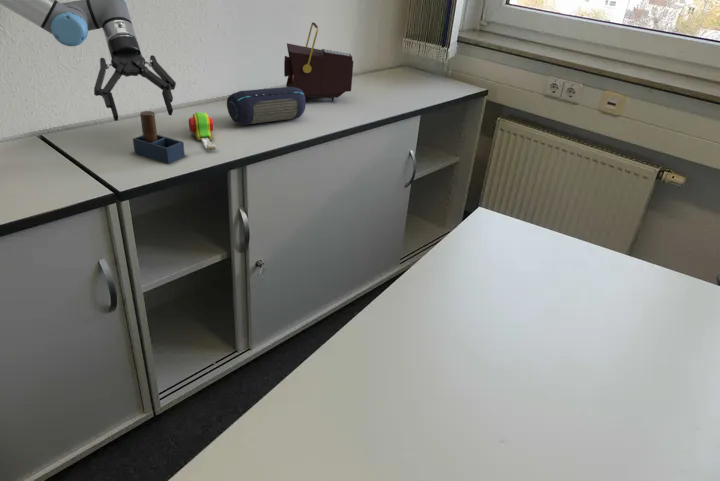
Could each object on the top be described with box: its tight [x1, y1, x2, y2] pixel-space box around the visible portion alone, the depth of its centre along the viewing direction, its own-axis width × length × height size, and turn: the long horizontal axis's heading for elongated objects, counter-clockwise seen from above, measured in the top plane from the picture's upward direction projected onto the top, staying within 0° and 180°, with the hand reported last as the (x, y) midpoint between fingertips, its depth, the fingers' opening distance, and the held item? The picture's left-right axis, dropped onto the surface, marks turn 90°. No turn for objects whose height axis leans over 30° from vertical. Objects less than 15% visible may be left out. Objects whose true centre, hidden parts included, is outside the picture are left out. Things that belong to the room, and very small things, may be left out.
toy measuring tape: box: [188, 111, 217, 151], centre depth 152 cm, size 6×19×7 cm, turn 25°
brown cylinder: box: [139, 110, 158, 143], centre depth 140 cm, size 3×3×10 cm
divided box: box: [132, 134, 185, 165], centre depth 141 cm, size 6×11×4 cm, turn 64°
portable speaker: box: [226, 86, 307, 125], centre depth 168 cm, size 25×10×10 cm, turn 126°
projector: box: [283, 21, 354, 102], centre depth 189 cm, size 16×23×25 cm
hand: (144, 115), depth 140 cm, fingers open, 13 cm apart
